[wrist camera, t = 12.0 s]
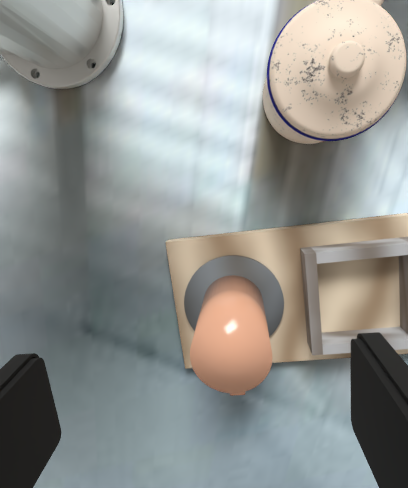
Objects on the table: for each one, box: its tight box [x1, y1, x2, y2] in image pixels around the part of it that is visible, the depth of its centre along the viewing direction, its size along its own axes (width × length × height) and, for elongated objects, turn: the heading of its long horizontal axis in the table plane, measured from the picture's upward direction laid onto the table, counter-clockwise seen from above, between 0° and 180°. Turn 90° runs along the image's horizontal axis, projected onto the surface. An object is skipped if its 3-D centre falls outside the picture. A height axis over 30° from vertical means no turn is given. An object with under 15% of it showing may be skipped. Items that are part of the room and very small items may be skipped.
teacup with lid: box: [263, 0, 406, 144], centre depth 26 cm, size 12×9×12 cm
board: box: [166, 213, 408, 368], centre depth 35 cm, size 24×14×4 cm, turn 97°
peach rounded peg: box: [190, 275, 272, 395], centre depth 31 cm, size 8×6×10 cm
